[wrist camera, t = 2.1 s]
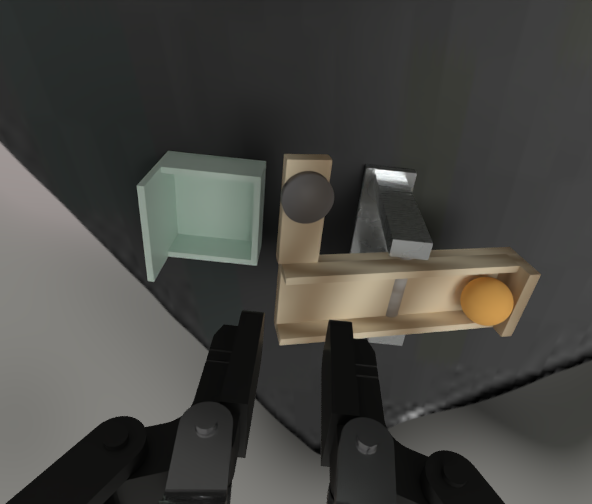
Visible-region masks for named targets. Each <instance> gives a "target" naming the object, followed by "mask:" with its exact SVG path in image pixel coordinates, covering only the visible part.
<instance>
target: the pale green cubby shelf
mask: <svg viewBox="0 0 592 504" xmlns="http://www.w3.org/2000/svg"><path fill="white" fill-rule="evenodd" d="M265 175H266V161H261V160H251V159H242V158H232V157H223V156H213V155H204V154H194V153H185V152H175V151H167V153H166V154H165V155H164V156H163V157H162V158H161V159H160V160H159V161H158V162H157V164H156V165H155V166H154V167H153V168H152V169H151V170H150V171H149V172H148V174H147V175H146V176H145V177H144V178H143V179H142V180H141V181H140V182H139V184H138V185H137V193H138V201H139V210H140V219H141V227H142V236H143V244H144V253H145V261H146V270H147V279H148V281H153V282H154V281H155V279H156V278H157V276H158V274H159V272H160V270H161V269H162V267H163V265H164V263H165V261H166V260H167V258H168V256H169V257H178V258H188V259H198V260H207V261H217V262H226V263H236V264H245V265H255V266H257V263H258V258H259V254H260V250H261V245H262V229H263V211H264V193H265Z"/></svg>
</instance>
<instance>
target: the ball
mask: <svg viewBox="0 0 592 504" xmlns="http://www.w3.org/2000/svg"><path fill="white" fill-rule="evenodd" d="M460 303H461V307H462V310H463V312H464V313H465V315H466V316H467V317H468V318H469V319H470V320H471V321H473V322H475V323H477V324H479V325H484V326H493V325H497V324H500V323H501V322H503V321H505V320H506V319H507V318H508V317H509V315H510V314H511V312H512V309H513V304H514V301H513V296H512V293H511V291H510V289H509V288H508V287H507V286H506V285H505V284H504V283H503V282H501V281H500V280H498V279H495V278H492V277H480V278H476V279H474V280H472V281H470V282H469V283H468V284H467V285H466V286H465V287H464V289H463V291H462V293H461V298H460Z"/></svg>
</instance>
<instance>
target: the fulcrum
mask: <svg viewBox="0 0 592 504" xmlns="http://www.w3.org/2000/svg"><path fill="white" fill-rule="evenodd" d="M416 175H417V173H416V171H415V170H413V169H404V168H395V167H385V166H376V165H365V171H364V176H363V181H362V187H361V192H360V198H359V203H358V208H357V214H356V219H355V224H354V230H353V235H352V241H351V246H350V251H349V254H351V253H376V252H388V254H389V256H392V257H402V258H411V259H421V260H428V259H429V256H430V252H431V249H432V246H433V242H432V239H431V237H430V235H429V232H428V230H427V227H426V225H425V223H424V220H423V218H422V215H421V213H420V210H419V208H418V206H417V203H416V201H415V198H414V196H413V194H412V191H413V187H414V183H415V179H416ZM404 337H405V335H393V336H382V337H370V338H367V339H368V342H372V343H381V344H391V345H400V346H402V344H403V341H404Z"/></svg>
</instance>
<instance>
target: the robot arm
mask: <svg viewBox="0 0 592 504" xmlns="http://www.w3.org/2000/svg"><path fill="white" fill-rule="evenodd" d="M264 316H265V313H264V312H254V311H245V310H242V312H241V316H240V320H239V324H238V326H233V325H223V326H222V327H221V328H220V329H219V330H218V331H217V332H216V334H215V335H214V337H213V340H212V343H211V346H210V351H209V353H208V356H207V361H206V363H205V366H204V370H203V373H202V376H201V379H200V382H199V386H198V389H197V392H196V395H195V399H194V401H193V404H192V405H191V407H190V408H189V409H187V410H186V411H185V412H184V414H183V415H182V416H181V417H180V418H178V419H176V420H174V421H171V422H168V423H164V424H159V425H154V426H149V427H144V425H143V424H142V423H141V422H140V421H139V420H137V419H135V418H133V417H128V416H120V417H115V418H111V419H109V420H107V421H105V422H103V423H101V424H100V425H99V426H97V427H96V428H95V429H94V430H93V431H92V432H90V433H89V434H88V435H87V436H85V437H84V438H83V439H82V440H81V441H80V442H78V443H77V444H76V445H75V446H74V447H72V448H71V449H70V450H69V451H68V452H66V453H65V454H64V455H63V456H62V457H61V458H59V459H58V460H57V461H56V462H54V463H53V464H52V465H51V466H50V467H49V468H47V469H46V470H45V471H44V472H43V473H41V474H40V475H39V476H38V477H37V478H36V479H34V480H33V481H32V482H31V483H30V484H28V485H27V486H26V487H25V488H24V489H22V491H20V492H19V493H18V494H16V495H15V496H14V497H13V498H12V499H10V500H9V501H8V502H7V503H6V504H230V500H231V487H232V479H233V477H234V472H235V466H236V461H237V457H243V458H245V456H246V449H247V444H248V438H249V431H250V426H251V420H252V413H253V407H254V401H255V395H256V389H257V383H258V377H259V370H260V364H261V356H262V346H263V331H264ZM321 466H327V467H330V483H329V487H328V492H327V502H326V504H505V503H504V502H503V501H502V500H501V498H500V497H499V496H498V495H497V493H496V492H495V491H494V490H493V488H492V487H491V486H490V485H489V484H488V482H487V481H486V480H485V479H484V478H483V476H482V475H481V474H480V473H479V471H478V470H477V469H476V468H475V467H474V465H472V463H471V462H469V461H468V460H467V459H466V458H464V457H463V456H461V455H459V454H457V453H454V452H451V451H444V450H443V451H438V452H435V453H433V454H431V455H430V456H429V457H428V456H425V455H423V454H420V453H418V452H415V451H413V450H411V449H409V448H406V447H405V446H403V445H401V444H400V443H399V442H398V441H396V440H395V439H394V438H393V437H392V435H391V434H390V432H389V431H388V429H387V427H386V425H385V421H384V414H383V407H382V399H381V392H380V385H379V380H378V371H377V363H376V356H375V352H374V350H373V348H372V347H371V345H370V344H369V342H368V341H367V340H366V339H356V338H353V326H352V322H349V321H339V320H330V319H329V322H328V327H327V333H326V338H325V344H324V350H323V357H322V368H321Z"/></svg>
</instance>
